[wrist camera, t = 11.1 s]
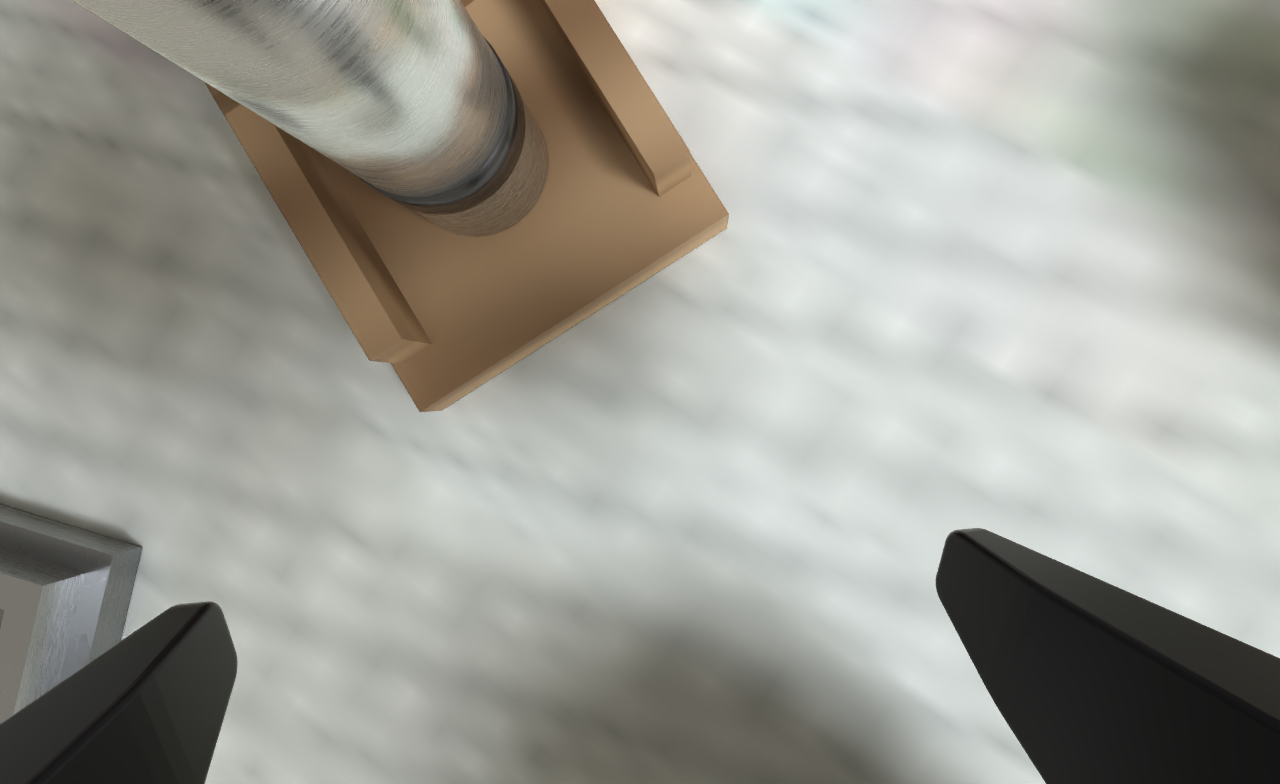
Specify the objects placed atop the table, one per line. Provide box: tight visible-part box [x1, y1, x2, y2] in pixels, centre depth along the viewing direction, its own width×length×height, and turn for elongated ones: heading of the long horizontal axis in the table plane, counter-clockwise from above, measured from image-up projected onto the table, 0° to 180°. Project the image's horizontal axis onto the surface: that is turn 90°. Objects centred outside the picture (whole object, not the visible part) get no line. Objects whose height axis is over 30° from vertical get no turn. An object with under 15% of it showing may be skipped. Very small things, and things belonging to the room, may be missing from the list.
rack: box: [205, 0, 729, 412], centre depth 17 cm, size 10×10×3 cm
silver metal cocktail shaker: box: [73, 0, 549, 237], centre depth 11 cm, size 4×4×13 cm
